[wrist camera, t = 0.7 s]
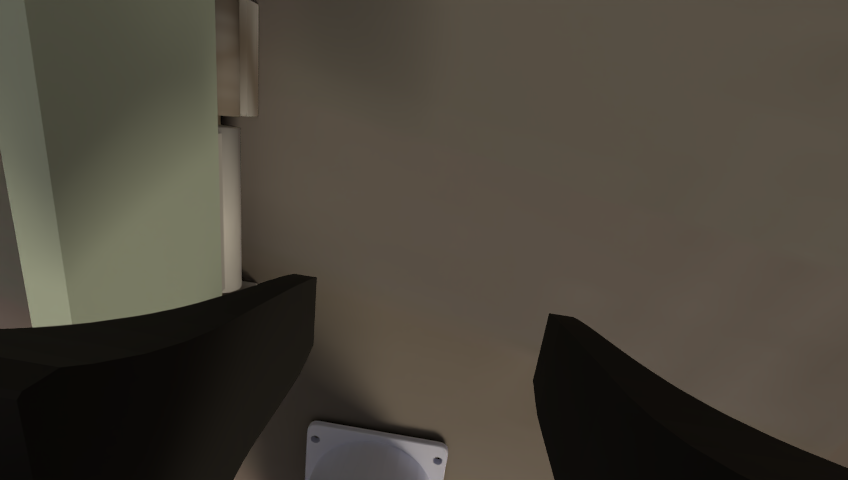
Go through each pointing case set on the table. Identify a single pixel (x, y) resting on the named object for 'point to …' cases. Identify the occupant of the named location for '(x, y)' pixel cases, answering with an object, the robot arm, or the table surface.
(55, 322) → the hinge leaf
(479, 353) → the table surface
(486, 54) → the table surface
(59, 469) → the robot arm
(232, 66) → the base leaf
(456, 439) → the table surface
